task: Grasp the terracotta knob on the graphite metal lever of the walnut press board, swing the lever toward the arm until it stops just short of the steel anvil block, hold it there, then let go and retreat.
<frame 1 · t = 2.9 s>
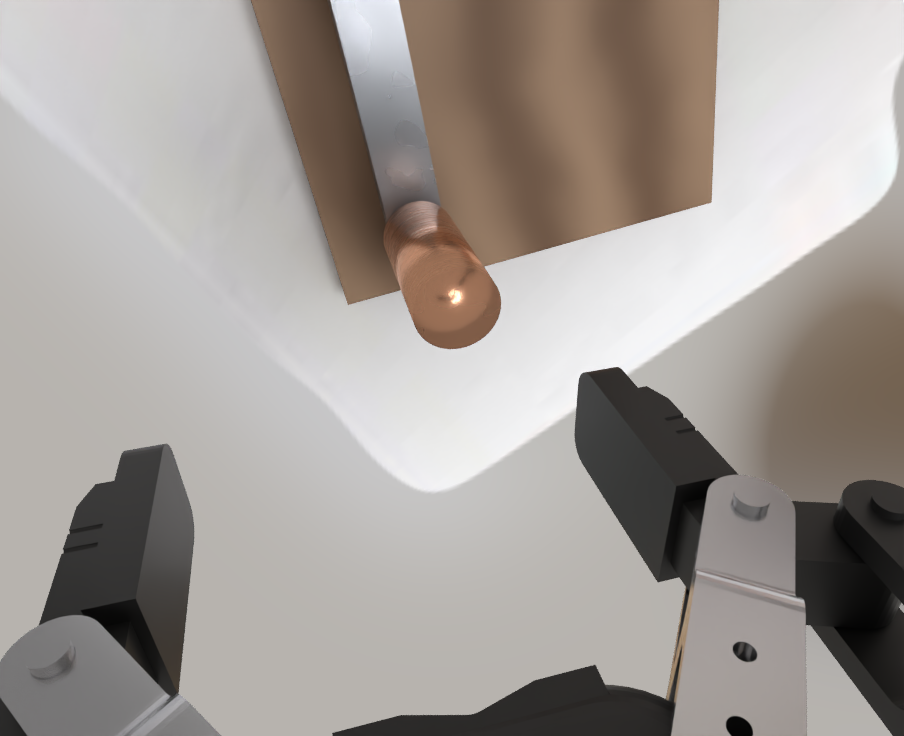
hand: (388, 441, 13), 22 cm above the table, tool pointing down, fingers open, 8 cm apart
lever: (375, 18, 23), point 7 cm above the table, hinge at 0.0°
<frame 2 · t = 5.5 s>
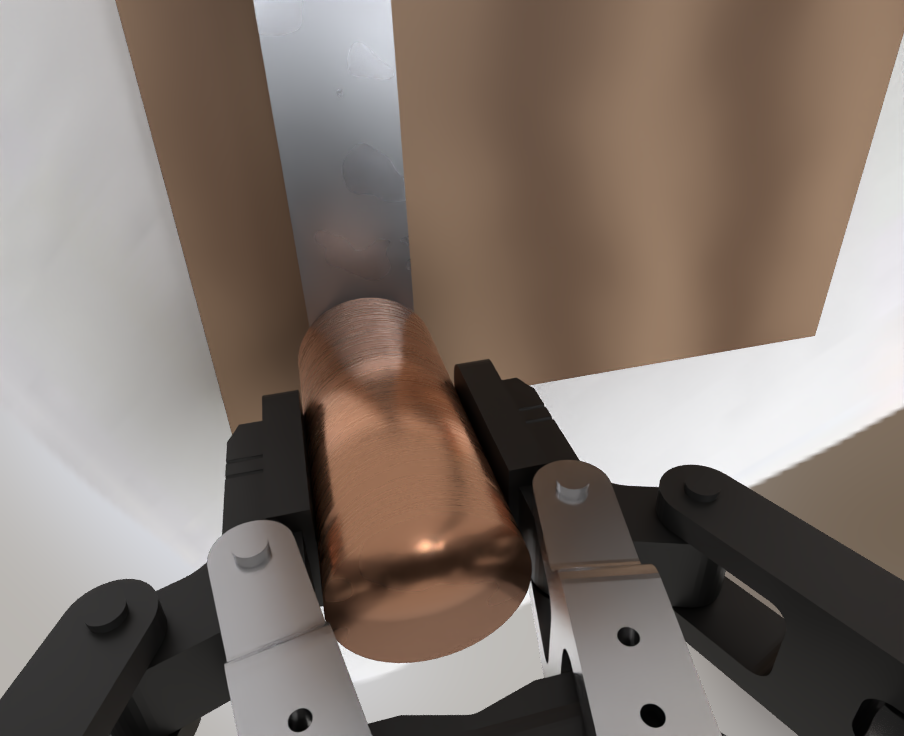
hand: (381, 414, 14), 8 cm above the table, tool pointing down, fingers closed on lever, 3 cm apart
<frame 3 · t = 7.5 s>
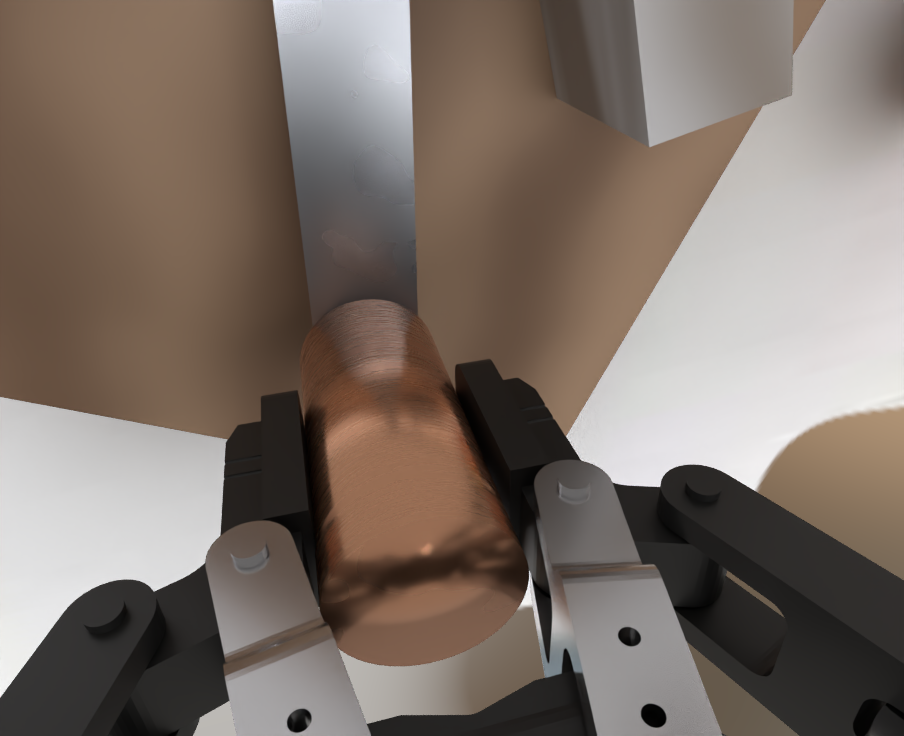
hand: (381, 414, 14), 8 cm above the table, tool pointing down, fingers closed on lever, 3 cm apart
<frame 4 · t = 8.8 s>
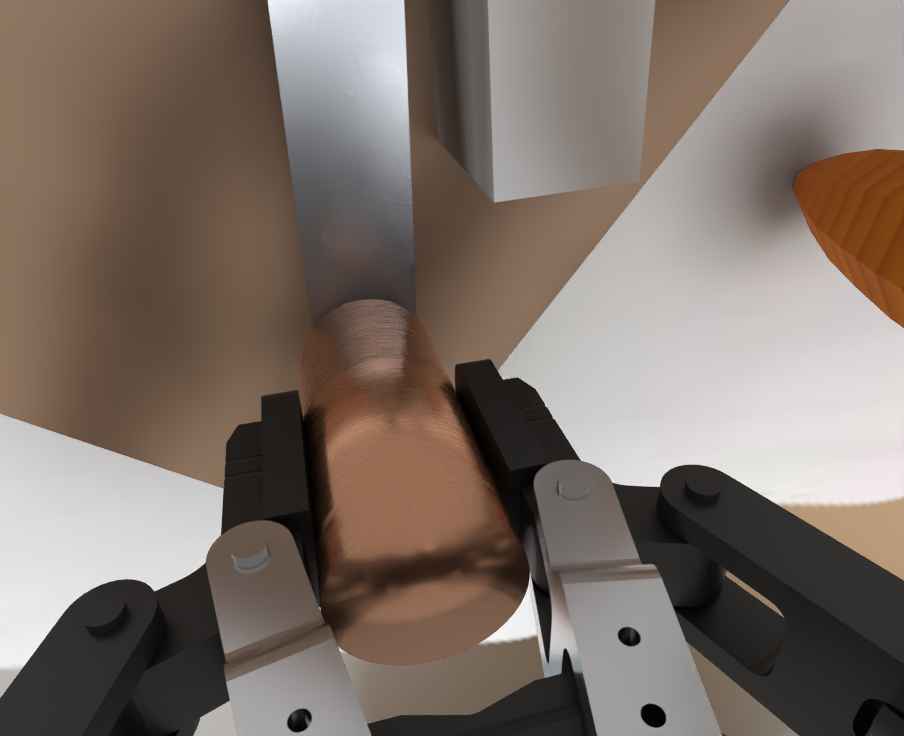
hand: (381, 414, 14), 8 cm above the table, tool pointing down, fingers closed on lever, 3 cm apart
carrot: (795, 175, 23), on the table
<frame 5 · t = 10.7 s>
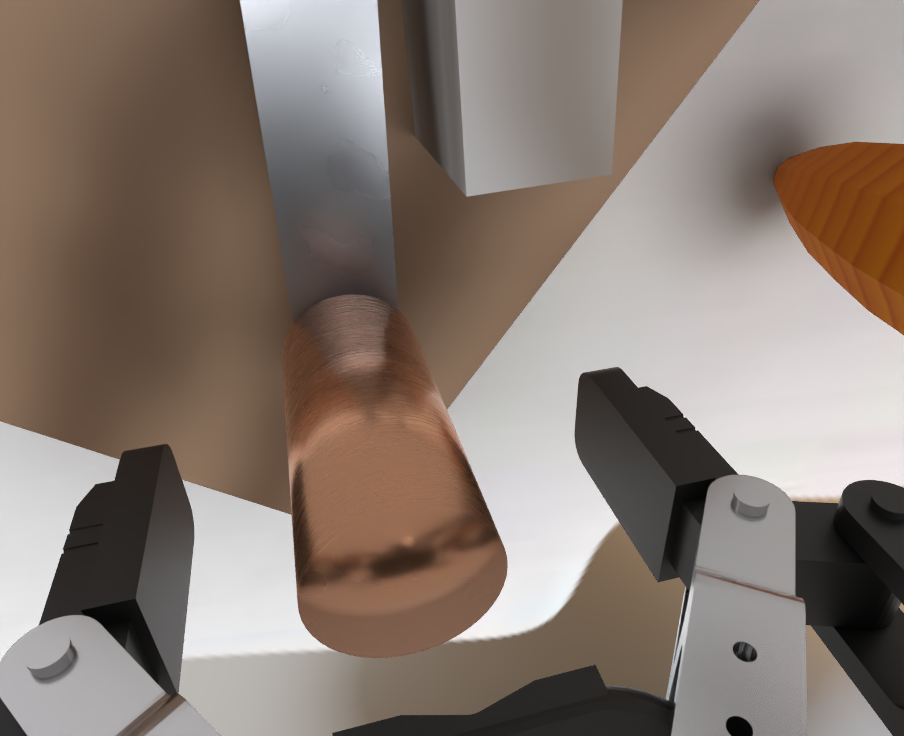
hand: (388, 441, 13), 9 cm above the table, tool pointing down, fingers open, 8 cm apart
carrot: (776, 169, 23), on the table
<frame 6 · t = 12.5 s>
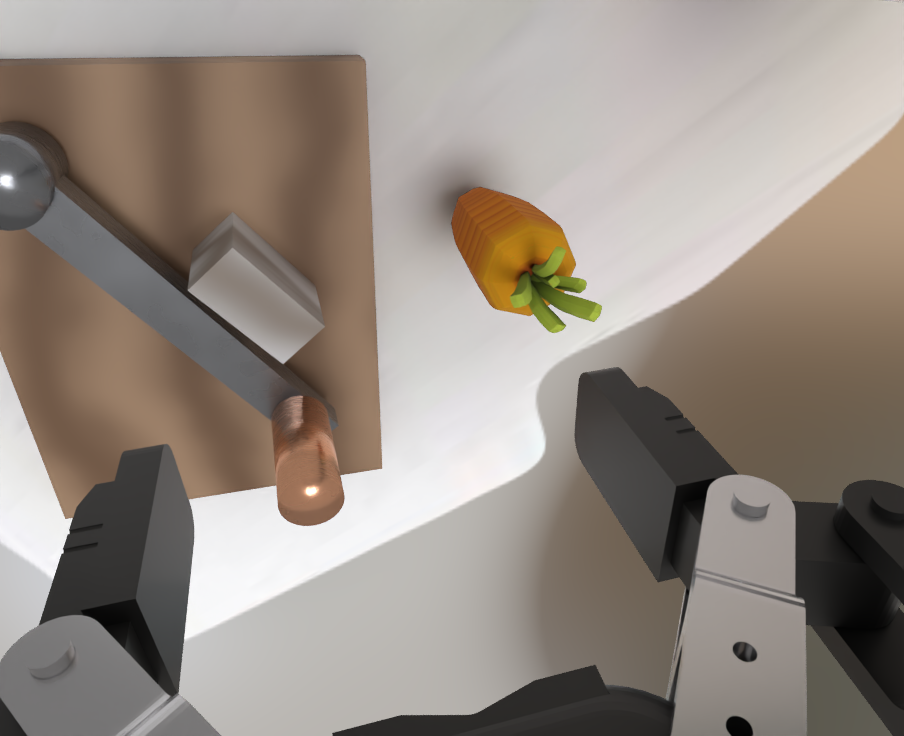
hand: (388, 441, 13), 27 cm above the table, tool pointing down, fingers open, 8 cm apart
lever: (174, 339, 32), point 7 cm above the table, hinge at 37.0°
press board: (198, 301, 39), on the table
carrot: (464, 199, 40), on the table
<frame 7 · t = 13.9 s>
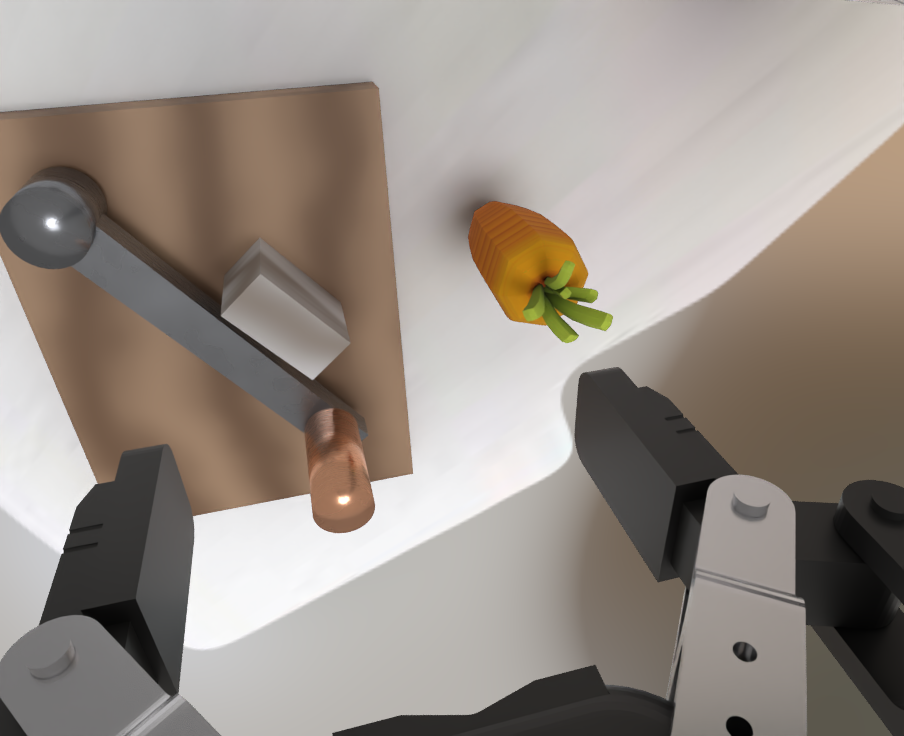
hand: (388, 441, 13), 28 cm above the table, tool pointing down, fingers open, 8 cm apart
lever: (210, 361, 34), point 7 cm above the table, hinge at 37.0°
press board: (232, 322, 41), on the table
carrot: (481, 211, 42), on the table
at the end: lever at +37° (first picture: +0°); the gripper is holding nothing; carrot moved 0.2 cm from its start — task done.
